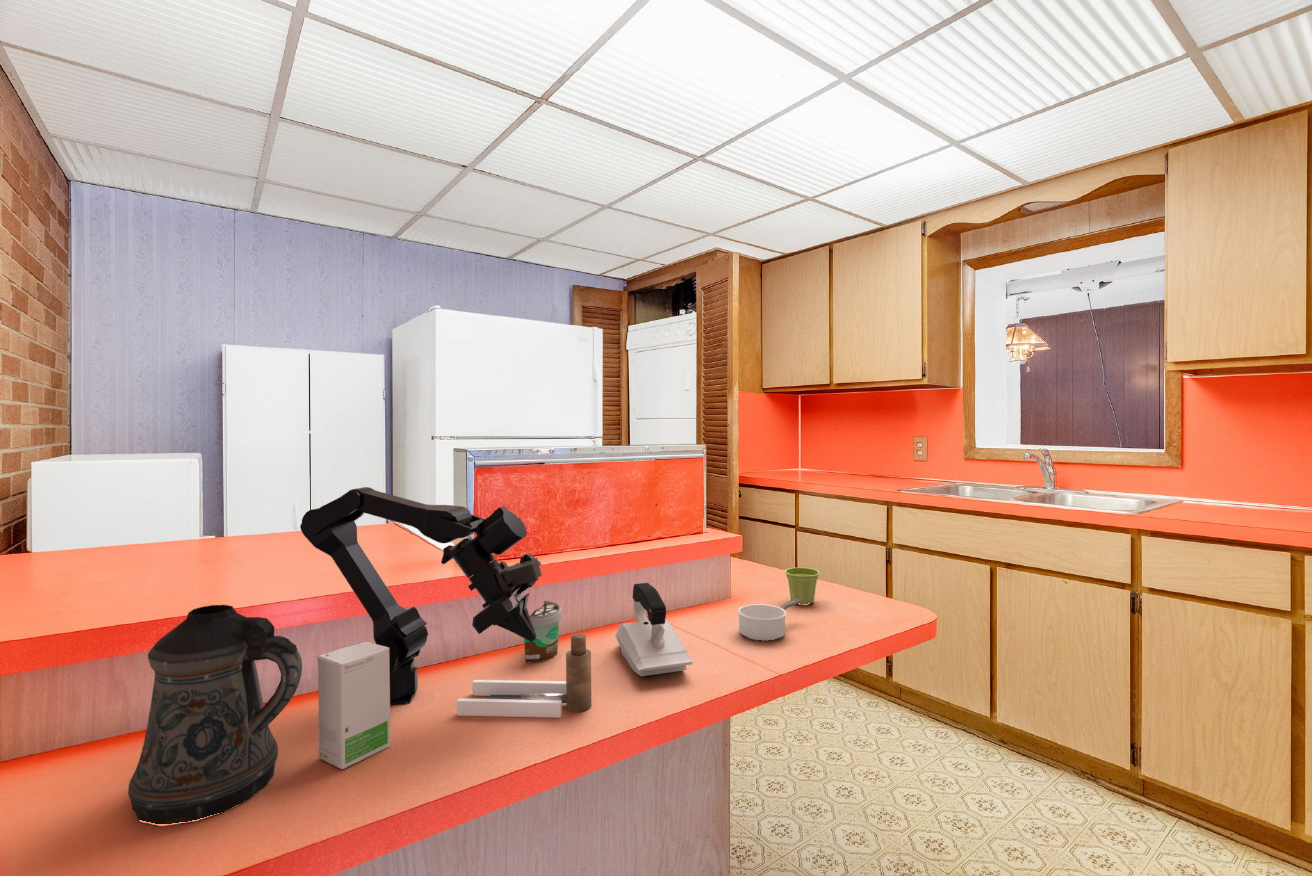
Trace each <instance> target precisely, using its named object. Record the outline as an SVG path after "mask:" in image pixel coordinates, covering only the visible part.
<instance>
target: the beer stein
mask: <svg viewBox="0 0 1312 876" xmlns="http://www.w3.org/2000/svg"><path fill="white" fill-rule="evenodd" d="M275 628H276V627H275V626H274V625H273V623H272V622H271V621H270V620H269V619H268V618H267V617H262V616H261V617H260V616H257V617H256V616H253V617H252V616H251V617H247V616H244V615H242V614H241V613H238V612H237V610H236V609H235V607H234V606H233V605H227V604H211V605H204V606H200V607H197V608H193V609H192V610H190V611H189V612H188V613H187V617H186V619H185V620H183V621H182V622H180V623H179V624H178V625H177V626H175V627H174V628H173V629H172V630H170V631H169V632H167V633H166V634H165V635H163V636H161V638H159V640H158V641H156V643H155V644H154V645H153V646H152V648H150V650H149V652H148V653H147V660H148V663H149V665H150V668H151V669H152V671H154V680H153V681H154V682H153V688H152V695H151V701H150V708H149V711H148V712H149V713H148V721H147V725H146V729H145V734H144V735H145V736H144V739H143V740H144V741H143V746H142V749H141V753H140V757H139V760H138V763H137V765H136V768H135V770H134V772H133V773H132V777H131V778H130V780H129V783H128V787H127V788H128V790H127V795H128V797H129V799H130V800H129V801H130V802H131V810H132V812H133V813H134V812H135V813H134V815H135V814H136V815H135V817H136V816H137V817H136V819H137V818H138V819H139V820H142V821H146V822H151V823H155V824H172V823H179V822H188V821H192V820H197V819H200V818H204V817H207V816H210V815H214V814H217V813H221V812H224V811H225V810H228V809H230V808H232V807H234V806H236V805H238V804H240V805H242V804H244V803H245V802H244V801H246V800H248V799H249V800H251V798H250V797H252V796H253V797H254V796H255V795H257V794H258V793H259V792H260V790H261V789H262V788H263V789H265V786H266V785H267V786H268V785H269V783H270V781H271V780H272V778H273V777H274V775H275V769H276V768H275V766H276V764H277V763H276V762H277V760H278V759H277V758H278V755H279V747H278V742H277V740H276V739H275V737H274V735H273V733H272V731H271V729H270V724H271V723H272V722H273V721H274V720H276V718H277V717H278V716H279V715H280V713H281V712H283V710H284V709H285V708H286V707H287V705H288V704H289V702H291V700H292V698H293V697H294V695H295V693H296V691H297V689H298V687H299V684H300V682H301V677H302V673H303V660H302V656H301V654H300V653H299V651H298V648H297V645H296V644H295V643H294V642H292V641H291V640H290V639H289V638H287V637H285V636H282V635H275ZM262 660H269V661H271V662H274V663H275V664H276V665H277V667H278V669H279V671H280V672H279V673H280V681H279V683H278V686H276V690H275V692H274V693H273V695H272V696H271V697H270V699H269V700H268V701H267V702H266V703H265V704H264V701H263V696H262V691H261V690H262V689H261V684H260V680H259V674H258V670H257V665H256V663H257V662H256V661H262ZM270 779H271V780H270ZM268 782H269V783H268ZM267 786H266V787H267ZM263 789H262V790H263ZM262 790H261V791H262ZM258 791H259V792H258ZM257 792H258V793H257ZM256 793H257V794H256ZM254 794H255V795H254ZM253 797H252V798H253ZM249 800H248V801H249ZM243 802H244V803H243ZM246 802H247V801H246ZM241 803H242V804H241ZM238 806H239V805H238ZM236 807H237V806H236ZM234 808H235V807H234ZM232 809H233V808H232ZM230 810H231V809H230ZM228 811H229V810H228ZM224 813H225V812H224ZM221 814H222V813H221ZM138 819H137V820H138Z"/></svg>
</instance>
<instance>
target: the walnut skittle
mask: <svg viewBox="0 0 1312 876" xmlns="http://www.w3.org/2000/svg"><path fill="white" fill-rule="evenodd" d="M586 638H587V635H586V634H584V633H575V634H571V635H570V649H569V650H567V651H566V652H565V681H566V703H565V704H566V710H567V711H569V712H573V713H581V712H587V711H589V710H590V709H591V708H592V652H591V650H589V649H587V642H586V641H587V639H586Z"/></svg>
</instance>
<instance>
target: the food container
mask: <svg viewBox="0 0 1312 876" xmlns="http://www.w3.org/2000/svg"><path fill="white" fill-rule="evenodd" d="M529 616H530V619H531V622H532V625H533V628H534V630H535V633H536V636H537V637H536V639H535V640H533V641H532V642H531V641H529V640H527V639H525V638H523V641H524V643H523V644H524V658H525V659H524V660H525V661H524V662H525V663H528V662H533V663H540V662H539V661H541V662H544V661H543V660H546V661H549V660H551V659H550V658H552V659H554V658H555V657H556V656H557V655H558V647H559V632H560V621H561V620H562V619H563V617H564V615H563V612H562V608H561V606H560V604H559V603H558V602H554V601H551V600H550V601H549V600H543V605H541V607H540V608H537V609H534V611H533V612H532V613H531V614H529ZM554 656H555V657H554ZM548 659H549V660H548Z"/></svg>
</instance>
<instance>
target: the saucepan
mask: <svg viewBox="0 0 1312 876" xmlns="http://www.w3.org/2000/svg"><path fill="white" fill-rule="evenodd" d="M799 602H800V600H799V599H796V600H793V601H791V600H790V601H789V602H785V603H783V604H781V605H780V606H776V605H772V604H764V603H756V604H755V603H753V604H746V605H743V606H740V607H738V609H736V610H737V613H738V624H739V625H738V632H739V633H740V634H741V635H743V636H744V637H746V638H748V639H750V640H753V641H758V640H762V641H761V642H769V641H768V640H772V641H776V640H778V639H779V638H782V637H783V636H784V635H785V634H786V616H787V614H788V612H787V610H788V608H790V607H792V606H794V605H797V603H799ZM777 638H778V639H777ZM775 639H776V640H775ZM764 640H765V641H764ZM766 640H767V641H766Z"/></svg>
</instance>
